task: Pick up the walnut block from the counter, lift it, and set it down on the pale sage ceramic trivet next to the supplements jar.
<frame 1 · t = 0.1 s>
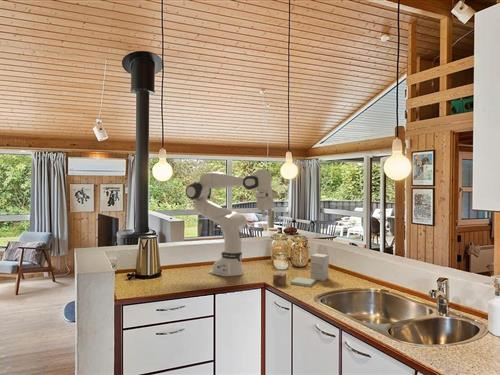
hand: (266, 216, 248), 39 cm above the counter, tool pointing down, fingers open, 8 cm apart
supplement box: (319, 279, 249), on the counter
trivet: (303, 283, 238), on the counter
block: (279, 284, 234), on the counter
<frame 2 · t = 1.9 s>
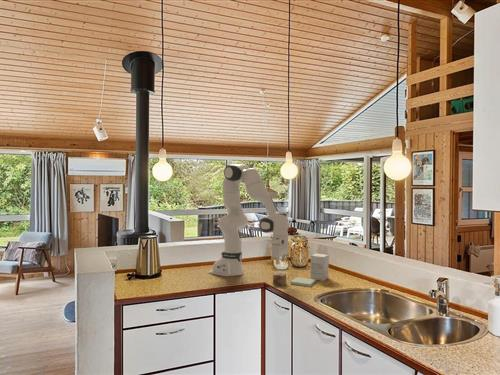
hand: (280, 262, 234), 13 cm above the counter, tool pointing down, fingers open, 8 cm apart
nothing on the counter moved.
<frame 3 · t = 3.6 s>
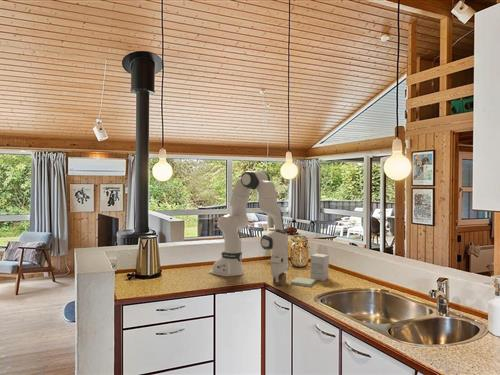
hand: (279, 280, 234), 2 cm above the counter, tool pointing down, fingers closed on block, 6 cm apart
block: (279, 284, 234), on the counter, touching gripper
everything else where it was.
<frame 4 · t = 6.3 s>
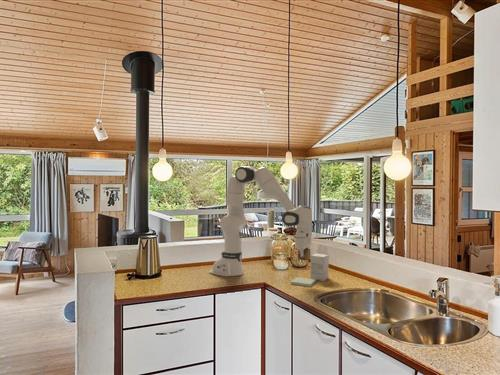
hand: (304, 255, 237), 17 cm above the counter, tool pointing down, fingers closed on block, 6 cm apart
block: (304, 259, 237), point 14 cm above the counter, touching gripper
everything else where it was.
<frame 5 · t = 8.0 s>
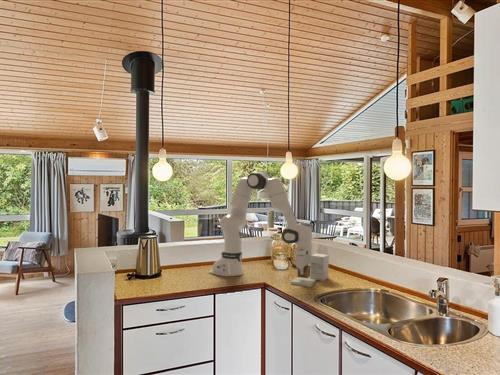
hand: (303, 273, 238), 6 cm above the counter, tool pointing down, fingers closed on block, 6 cm apart
block: (303, 276, 238), point 4 cm above the counter, touching gripper
everything else where it was.
when the fingers open (5 cm above the counter, at t = 9.2 s): block drops 1 cm, resting on trivet.
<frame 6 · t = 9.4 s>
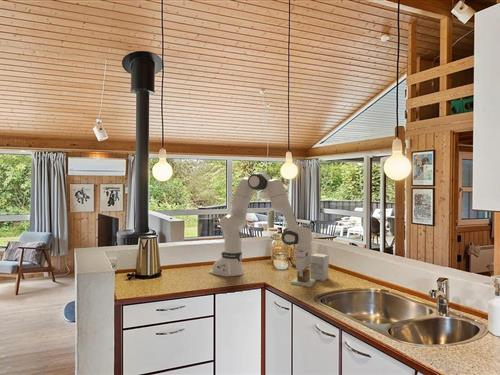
hand: (303, 274, 238), 5 cm above the counter, tool pointing down, fingers open, 8 cm apart
block: (303, 280, 238), point 1 cm above the counter, touching trivet
everything else where it was.
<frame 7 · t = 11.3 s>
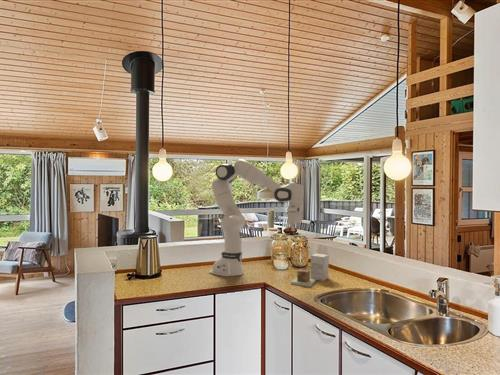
hand: (295, 230, 247), 31 cm above the counter, tool pointing down, fingers open, 8 cm apart
nothing on the counter moved.
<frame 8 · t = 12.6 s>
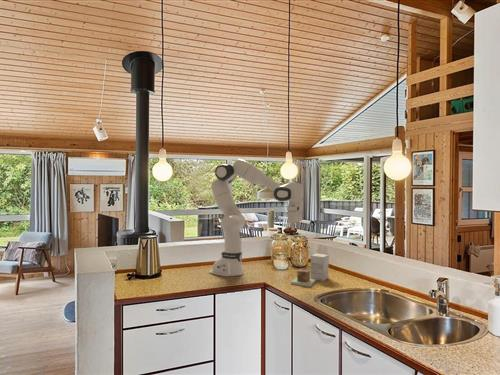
hand: (295, 229, 247), 31 cm above the counter, tool pointing down, fingers open, 8 cm apart
nothing on the counter moved.
at the end: block inside the target area on the trivet (0.0 cm from its centre), point 1.5 cm above the trivet's base; block tilted 0°; the gripper is holding nothing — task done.
